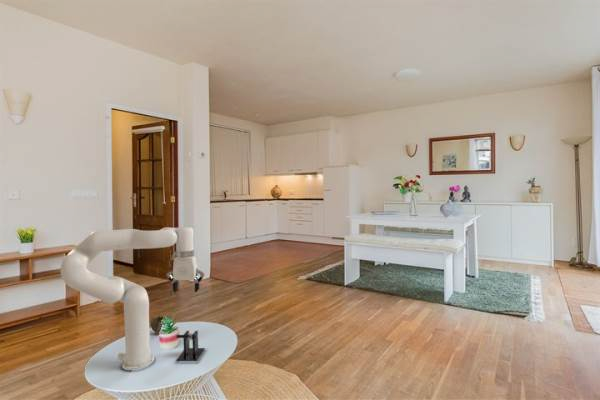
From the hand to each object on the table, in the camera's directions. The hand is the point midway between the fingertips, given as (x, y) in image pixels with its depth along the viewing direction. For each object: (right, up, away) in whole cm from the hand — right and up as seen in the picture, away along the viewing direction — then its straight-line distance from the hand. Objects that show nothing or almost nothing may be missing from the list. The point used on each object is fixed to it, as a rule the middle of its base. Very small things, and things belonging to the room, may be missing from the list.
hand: (186, 291), depth 155 cm
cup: (-22, -28, +22) cm, 42 cm away
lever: (+3, -19, -8) cm, 21 cm away
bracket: (+3, -28, -3) cm, 29 cm away
